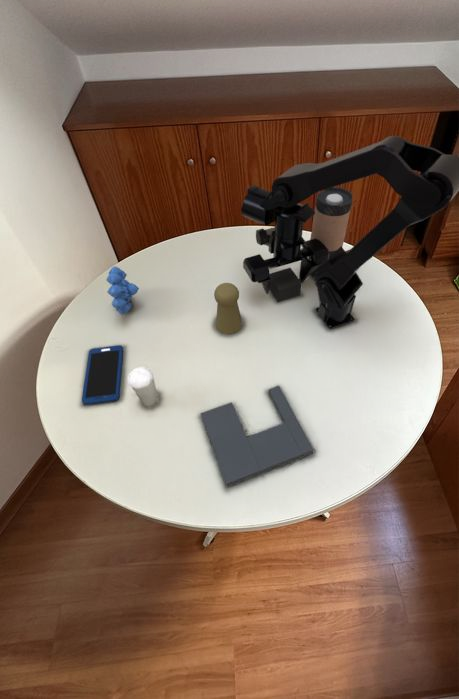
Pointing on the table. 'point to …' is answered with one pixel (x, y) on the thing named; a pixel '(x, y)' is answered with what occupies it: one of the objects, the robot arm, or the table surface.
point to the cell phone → (103, 375)
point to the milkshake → (144, 385)
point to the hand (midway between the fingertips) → (283, 287)
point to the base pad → (254, 441)
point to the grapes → (121, 290)
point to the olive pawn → (227, 309)
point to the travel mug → (331, 218)
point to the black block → (284, 284)
